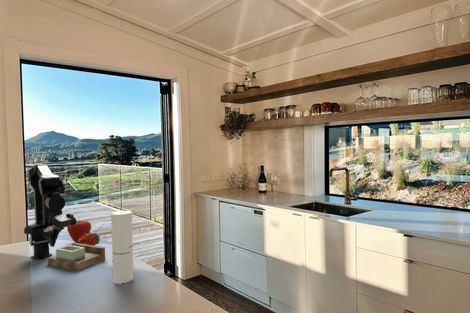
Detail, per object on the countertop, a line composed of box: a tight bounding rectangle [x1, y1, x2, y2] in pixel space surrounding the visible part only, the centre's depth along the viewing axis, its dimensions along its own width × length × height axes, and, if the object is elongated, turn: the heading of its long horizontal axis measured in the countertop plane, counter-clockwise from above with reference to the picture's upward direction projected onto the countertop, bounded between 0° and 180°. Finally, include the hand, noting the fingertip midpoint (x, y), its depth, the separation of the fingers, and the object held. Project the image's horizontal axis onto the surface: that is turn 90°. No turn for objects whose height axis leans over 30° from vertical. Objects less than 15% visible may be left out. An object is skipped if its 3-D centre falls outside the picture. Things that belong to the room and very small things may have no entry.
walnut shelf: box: [47, 242, 106, 272], centre depth 138 cm, size 18×14×6 cm
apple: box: [66, 219, 92, 243], centre depth 168 cm, size 11×11×12 cm
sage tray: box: [55, 244, 85, 261], centre depth 135 cm, size 10×6×4 cm, turn 65°
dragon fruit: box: [75, 231, 101, 246], centre depth 157 cm, size 8×8×12 cm
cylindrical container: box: [110, 210, 134, 285], centre depth 117 cm, size 7×7×25 cm
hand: (52, 246), depth 127 cm, fingers closed
